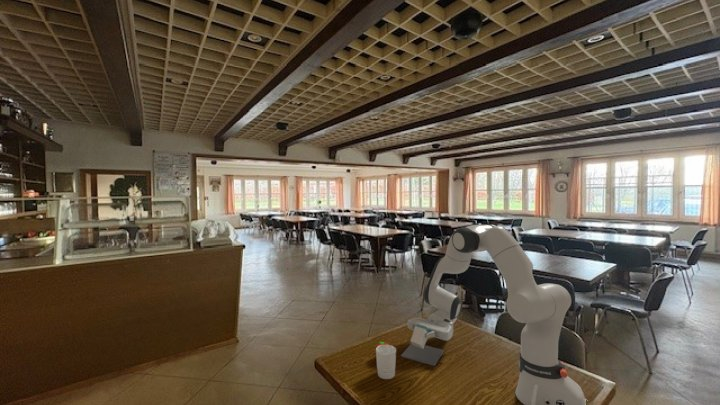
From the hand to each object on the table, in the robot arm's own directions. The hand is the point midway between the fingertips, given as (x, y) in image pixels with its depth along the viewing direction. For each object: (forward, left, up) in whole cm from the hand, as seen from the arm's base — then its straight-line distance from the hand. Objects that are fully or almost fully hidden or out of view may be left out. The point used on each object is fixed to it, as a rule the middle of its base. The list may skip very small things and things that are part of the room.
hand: (420, 334), depth 136 cm
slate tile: (0, -3, -10) cm, 10 cm away
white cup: (+7, +19, -10) cm, 23 cm away
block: (+1, +3, -4) cm, 5 cm away
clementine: (+13, +9, -10) cm, 19 cm away
